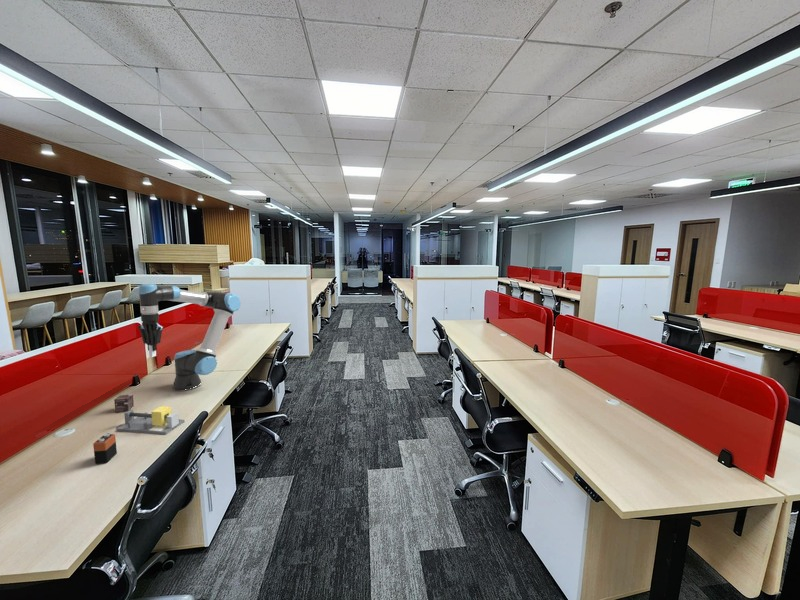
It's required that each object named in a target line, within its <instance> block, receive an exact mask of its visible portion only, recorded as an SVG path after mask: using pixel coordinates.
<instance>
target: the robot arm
mask: <svg viewBox="0 0 800 600" xmlns="http://www.w3.org/2000/svg"><path fill="white" fill-rule="evenodd" d="M138 295H139V307H140V320H141V325H138V326H137V329H138V330H139V332H140V336H141V339H142V342H143V344H145V345H147V350H148V353H149V354H148V355H149V358H154V357H157V349H158V347H157V346H158V345H159V344H160V343H161V340H162V334H163V330H164V328H165V326H163V325H160V323H159V319H160V317H159V312H160V311H159V302H161V301H171V302H178V303H186V304H195V305H199V306H200V307H205V308H209V309H213V312H214V314H213V317H212V319H211V322H210V324H209V326H208V328H207V332H206V333H205V336H204V337H203V341H202V343H201V345H200V346H199V347H200V348H198V349H187V350H183V351H179V352H177V353H175V354H174V367H175V368H174V369H175V370H174V371H175V379H174V381H173V384H172V389H173V388H174V389H175V390H174V389H173V390H174V391H177V390H185V389H190V388H193V387H195V386H198V385H199V384H200V383H201V384H202V380H201V378H200V376H207V375H210V374H212V373H213V372H214V371H215V370H216V369H217V365H218V362H217V361H218V359H216V357H217V354H216V350H217V348H218V345H219V343H220V340H221V338H222V336H223V333H224V330H225V327H226V326H227V323H228V321H229V318H230V317H231V316H233V314H234V312H238V310H239V309H240V308H241V303H242V301H241V299H240V296H239V295H237V294H235V293H231V292H221V291H201V292H200V291H199V292H197V291H193V290H185V289H181V288H179V287H178V286H177V285H171V286H165V285H157V284H156V283H143V284H140V285H139V286H138ZM185 391H186V390H185Z"/></svg>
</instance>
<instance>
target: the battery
mask: <svg viewBox="0 0 800 600" xmlns="http://www.w3.org/2000/svg"><path fill="white" fill-rule="evenodd" d="M92 446H93V454H94V463H95V465H99V464H107V463H109V462H110V461H111V460H112V459H113V458H114V457H115V456H116V455H117V453H118V451H117V439H116V434H115V433H112V434H111V433H110V432H106V433H104V434H103V435H102V436H100V437H99V438H98V439H97V440H95V442H94V443H93V444H92Z"/></svg>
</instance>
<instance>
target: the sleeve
mask: <svg viewBox="0 0 800 600" xmlns="http://www.w3.org/2000/svg"><path fill="white" fill-rule="evenodd" d="M150 414H152V425H158V426H163V425H164V424H166V423H167V419H164V415H170V414H172V407H171V406H167V405H166V406H164V405H161V406H159V407H157V408H155V409H154V410H152V411H151V413H150Z"/></svg>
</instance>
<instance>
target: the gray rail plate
mask: <svg viewBox="0 0 800 600" xmlns="http://www.w3.org/2000/svg"><path fill="white" fill-rule="evenodd" d="M123 413H124V416H123V417H124V424H123V425H120V426H119V427H116V431H117V432H124V433H126V432H127V433H139V434H140V433H141V434H152V435H153V434H154V435H164V436H165V435H166V436H167V435H168V434H169V433H171V432H172V431H174V430H175V429H177V428H178V427H179V426H181V425H182V424H184V423H185V419H179V413H178V412H171V414H170V415H164V419H167V423H166V424H164V425H163V426H158V425H152V414H151V413H148V412H142V413H141V412H135V411H134V410H133V409H130V410H129V411H127V412H123Z"/></svg>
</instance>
